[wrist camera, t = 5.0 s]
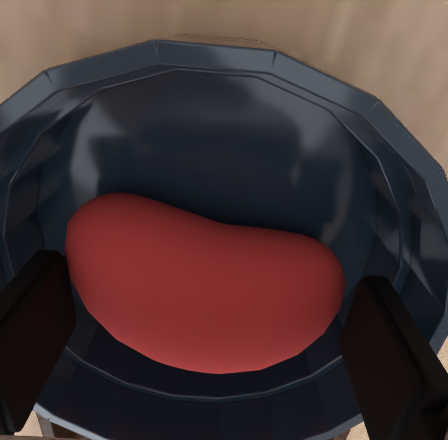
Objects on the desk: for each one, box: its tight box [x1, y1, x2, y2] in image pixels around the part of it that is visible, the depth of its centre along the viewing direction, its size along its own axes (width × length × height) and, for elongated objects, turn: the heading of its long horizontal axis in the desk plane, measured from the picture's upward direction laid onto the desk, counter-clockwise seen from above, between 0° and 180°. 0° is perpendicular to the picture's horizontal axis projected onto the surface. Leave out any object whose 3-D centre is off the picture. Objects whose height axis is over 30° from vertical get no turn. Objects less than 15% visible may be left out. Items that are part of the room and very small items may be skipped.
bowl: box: [0, 34, 448, 440], centre depth 12 cm, size 14×14×4 cm
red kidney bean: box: [65, 192, 346, 374], centre depth 12 cm, size 5×9×6 cm
